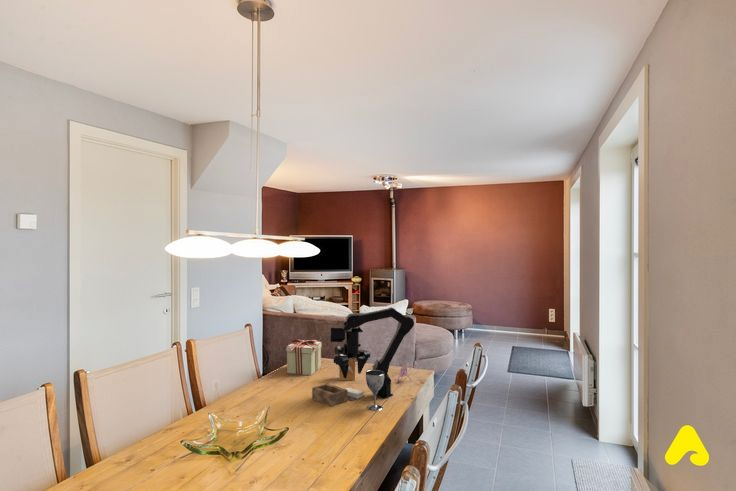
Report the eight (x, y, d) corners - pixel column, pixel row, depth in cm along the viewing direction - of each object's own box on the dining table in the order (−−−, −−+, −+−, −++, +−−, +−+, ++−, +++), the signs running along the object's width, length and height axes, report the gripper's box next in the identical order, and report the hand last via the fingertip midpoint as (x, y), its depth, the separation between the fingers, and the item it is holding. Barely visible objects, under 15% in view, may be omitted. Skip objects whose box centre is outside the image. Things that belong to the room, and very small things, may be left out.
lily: (403, 378, 225) (394, 362, 224) (422, 372, 220) (413, 357, 219) (395, 391, 215) (386, 375, 214) (415, 386, 209) (406, 370, 208)
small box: (339, 380, 217) (339, 355, 217) (338, 377, 223) (338, 352, 223) (355, 380, 218) (355, 354, 218) (354, 376, 224) (354, 351, 224)
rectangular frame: (347, 401, 188) (347, 389, 188) (332, 406, 182) (332, 395, 182) (327, 393, 197) (327, 383, 197) (312, 399, 191) (312, 387, 191)
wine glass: (387, 407, 181) (388, 372, 181) (375, 413, 175) (375, 376, 175) (374, 402, 186) (374, 368, 186) (361, 407, 180) (361, 372, 180)
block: (363, 396, 193) (363, 391, 193) (357, 398, 190) (357, 394, 190) (347, 392, 199) (347, 387, 199) (342, 394, 196) (342, 390, 196)
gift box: (283, 375, 225) (283, 343, 225) (295, 366, 243) (295, 336, 243) (314, 377, 222) (314, 344, 222) (324, 367, 240) (324, 337, 240)
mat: (364, 396, 194) (364, 395, 194) (352, 401, 188) (352, 400, 188) (352, 392, 200) (352, 391, 200) (339, 396, 194) (339, 395, 194)
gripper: (354, 336, 206) (353, 368, 206) (325, 342, 193) (325, 376, 193) (371, 339, 199) (370, 372, 199) (342, 346, 185) (342, 382, 185)
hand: (352, 375), depth 194 cm, fingers open, 9 cm apart
